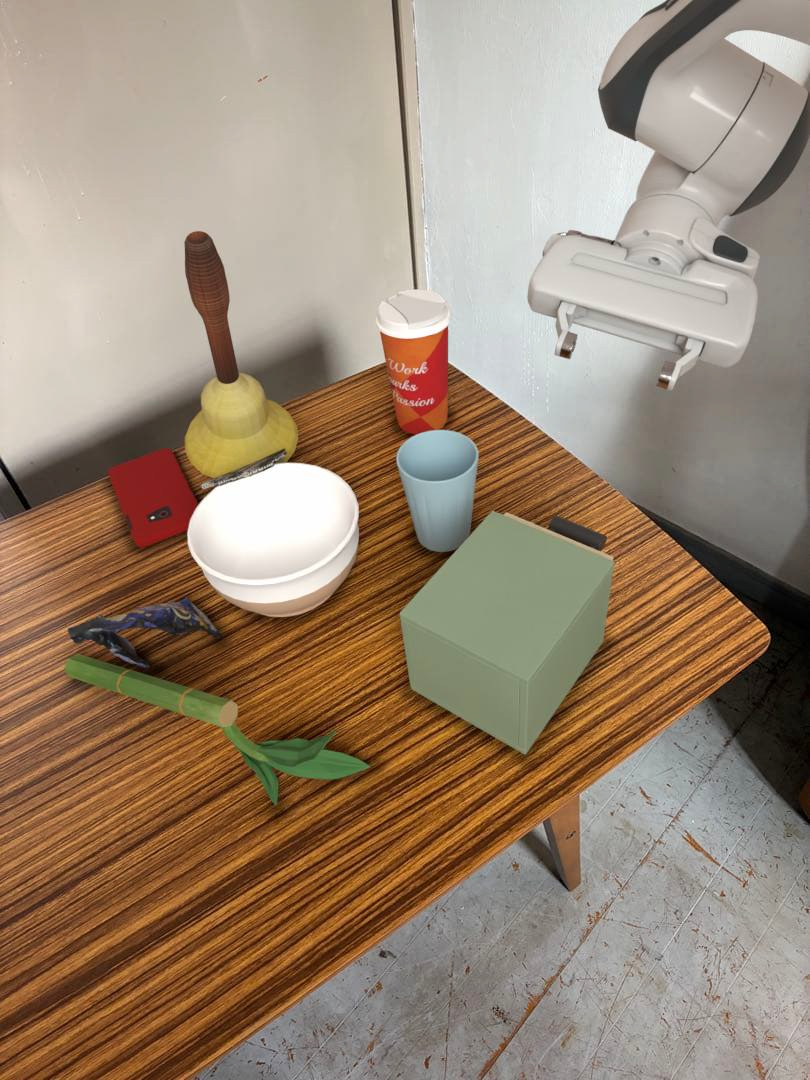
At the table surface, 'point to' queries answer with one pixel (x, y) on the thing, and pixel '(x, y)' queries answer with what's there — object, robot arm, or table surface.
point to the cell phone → (153, 496)
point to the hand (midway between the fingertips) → (613, 368)
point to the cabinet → (507, 628)
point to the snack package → (160, 616)
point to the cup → (439, 486)
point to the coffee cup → (416, 357)
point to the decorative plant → (221, 724)
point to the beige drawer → (571, 534)
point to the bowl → (277, 538)
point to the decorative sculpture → (246, 470)
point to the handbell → (228, 382)
